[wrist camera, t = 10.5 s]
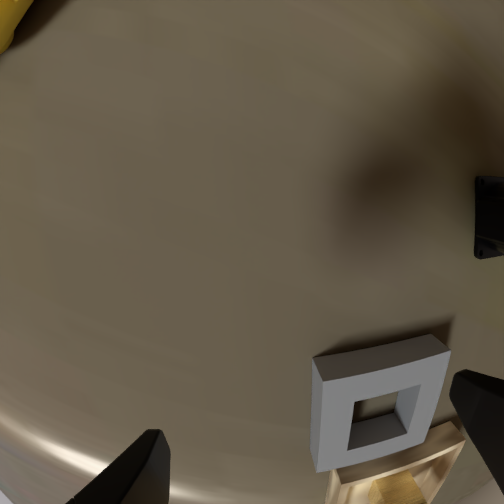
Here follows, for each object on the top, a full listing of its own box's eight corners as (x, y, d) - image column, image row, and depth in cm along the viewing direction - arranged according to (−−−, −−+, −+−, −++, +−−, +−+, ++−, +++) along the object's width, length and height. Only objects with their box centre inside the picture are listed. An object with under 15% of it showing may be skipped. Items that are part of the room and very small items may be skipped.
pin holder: (430, 333, 21) (451, 350, 18) (410, 423, 23) (423, 442, 20) (312, 357, 20) (322, 381, 18) (309, 448, 23) (316, 472, 20)
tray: (450, 420, 24) (466, 439, 20) (419, 487, 26) (429, 504, 23) (332, 458, 23) (341, 484, 20) (322, 517, 26) (327, 537, 22)
